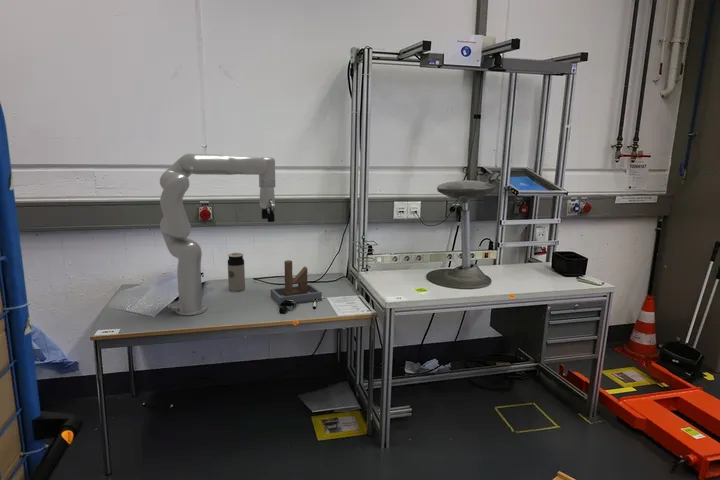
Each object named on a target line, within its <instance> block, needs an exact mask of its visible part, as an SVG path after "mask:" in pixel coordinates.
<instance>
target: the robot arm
mask: <svg viewBox="0 0 720 480" xmlns="http://www.w3.org/2000/svg"><path fill="white" fill-rule="evenodd" d="M191 175H203V176H204V175H205V176H206V175H214V176H215V175H218V176H219V175H221V176H223V175H224V176H225V175H226V176H227V175H229V176H231V175H232V176H233V175H234V176H235V175H247V176H248V175H254V176H256V175H258V187H259V207H260V208H261V219H263V220H267V222H268V223H274V222H275V221H276V219H275V207H276V202H275V201H276V199H275V197H276V196H275V188H276V160H275V158H274V157H269V156H268V157H267V156H266V157H257V156H247V157H246V156H245V157H244V156H234V155H228V154H203V153H185V154H183V155H182V156H181V157H180V158H178V159H176V161H175V162H174V163H173V164H172V165H171V166H170V167H168V168H167V169H166V170H165V171H164V172H163V173H162V174H161V176H160V178H159V184H160V187H161V189H162V191H161V194H160V198H159V204H160V209H161V212H162V214H163V217H162V218H161V220H160V222H159V227H160V228H159V229H160V231H161V232H160V233H161V235H162V237H163V240H164V242H165V245H166V248H167V250H168V251H169V253H170V254H171V256H173V257H174V258H176V259H177V260H178V261H177V263H178V264H177V270H176V271H177V285H178V286H177V287H178V300H177V302H175V303H168V304H167V309H171V310H175V313H176V314H178V315H180V316H194V315H199V314H200V315H201V314H203V313H204V312H205V311H207V305H205V304H203V288H202V274H201V273H202V271H201V270H202V269H201V268H202V266H201V265H202V264H201V263H202V256H203V255H202V254H203V253H202V248H201V246H200V244H199V243H197V242H196V241H194V240H192V239H190V238H188V236H190V234H191V231H192V227H191V223H190V221H189V218H188V215H187V212H186V209H185V207H184V206H185V205H184V203H183V200H184V196H185V194H186V192H187V191H188V189H189V188H190V179H189V177H190V176H191Z"/></svg>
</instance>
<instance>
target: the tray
mask: <svg viewBox="0 0 720 480" xmlns="http://www.w3.org/2000/svg"><path fill="white" fill-rule="evenodd" d="M293 289H298V285H293ZM284 290H285V286H284V287H277V288H271V289H270V298H271V299H272V300H273V301H274V302H275V303H276V304H277V305H278V306H279V305H280V304H281V303H282V302H283V301H284V300H294V301H295V302H296V303H297V304H296V305H300V304H305V303H307V304H308V303H313V302H312V301H313V299H317V300H318V301H317V302H320V301H322V299H323V293H322V291H321V290H319V289H318V288H317V287H315V286H314V285H313V284H312V283H311V284H309V283H307V294H299V295H292V296H284ZM299 303H300V304H299Z"/></svg>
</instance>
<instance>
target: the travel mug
mask: <svg viewBox="0 0 720 480" xmlns="http://www.w3.org/2000/svg"><path fill="white" fill-rule="evenodd" d="M227 256H228V259H227V278H228V279H227V280H228V290H229V291H231V292H241V291H244V290H245V289H246V277H245V276H246V275H245V274H246V273H245V260H244V253H242V252H231V253H229V254H227Z"/></svg>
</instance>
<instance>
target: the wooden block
mask: <svg viewBox="0 0 720 480" xmlns="http://www.w3.org/2000/svg"><path fill="white" fill-rule="evenodd" d="M294 285H297V286H298V289H293V286H294ZM307 285H308V267H307V266H303V268H302V269H301V270H300V271H299V272H298V273H297V274H296V276H295V277H293V261H292V260H291V259H290V260H289V259H288V260H285V261H284V287H285V290H284V296H292V295H299V294H307Z"/></svg>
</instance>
